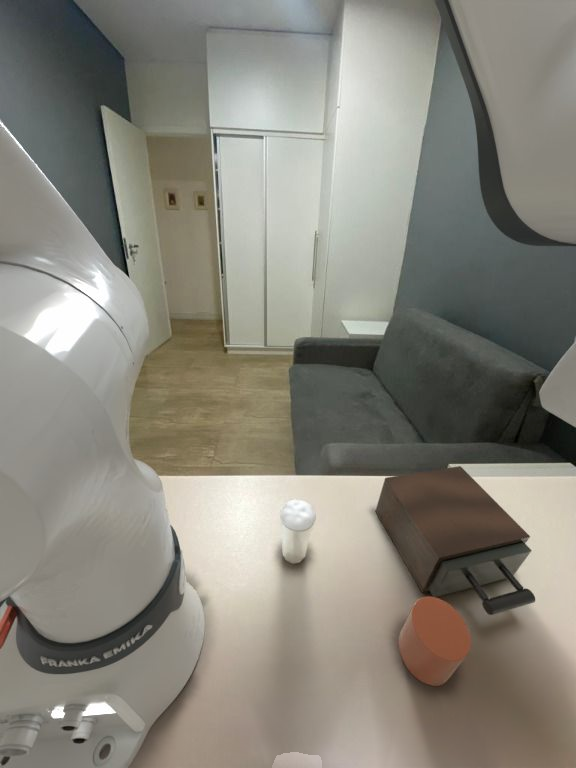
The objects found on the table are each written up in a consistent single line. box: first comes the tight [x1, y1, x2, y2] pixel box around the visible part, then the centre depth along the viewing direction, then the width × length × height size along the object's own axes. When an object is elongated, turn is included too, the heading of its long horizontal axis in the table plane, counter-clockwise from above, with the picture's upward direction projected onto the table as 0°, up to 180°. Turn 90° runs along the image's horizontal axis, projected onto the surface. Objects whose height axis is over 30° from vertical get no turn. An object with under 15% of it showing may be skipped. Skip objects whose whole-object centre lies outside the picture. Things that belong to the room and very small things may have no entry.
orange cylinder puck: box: [397, 595, 472, 687], centre depth 33 cm, size 6×6×6 cm
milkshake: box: [279, 498, 317, 565], centre depth 41 cm, size 5×5×10 cm
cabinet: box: [375, 465, 531, 593], centre depth 45 cm, size 13×14×8 cm
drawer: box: [428, 542, 536, 616], centre depth 41 cm, size 16×12×6 cm
